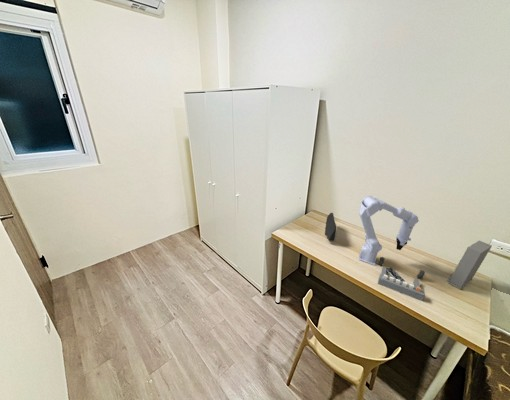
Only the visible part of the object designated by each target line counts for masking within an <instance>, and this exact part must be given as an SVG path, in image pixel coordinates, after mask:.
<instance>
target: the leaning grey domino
mask: <svg viewBox="0 0 510 400" xmlns="http://www.w3.org/2000/svg"><path fill="white" fill-rule="evenodd" d="M492 246H493V245H492V244H489V243H488V242H487V243H486V242H484V241H481V240H477V241H476V242H474V243H472V244H471V245H469V246H468V247H467V248H466V249H465V252H464V254H463V256H462V257H461V259H460V260H459V262H458V264H457V266H456V267H455V269H454V272H453V273H452V274H451V275H450V276H449V278H448V280H447V281H446V282H447V283H448V284H450V285H452V286H454V287H456V288H457V289H459V290H461V289H462V288H463V287H465V286H466V285H468V284H469V283H471V282H472V281H473V278H474V277H475V275H476V273H477V272H478V270H479V268H480V267H481V265H482V264H483V261H484V260H485V258H487V257H486V256H487V255H488V253H489V252H490V251H491V248H492Z"/></svg>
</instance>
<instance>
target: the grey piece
mask: <svg viewBox="0 0 510 400" xmlns="http://www.w3.org/2000/svg"><path fill="white" fill-rule="evenodd" d="M386 268H387V267H382V268H381V272H380V273H379V276H378V278H377V279H378V280H377V285H380V286H383V287H385V288H388V289H390V290H393V291H396V292H397V293H398V292H399V293H401V294H403V295H405V296H408V297H411V298H413V299H415V300H419V301H421V302H422V301H423V299H424V297H425V291H424V290H425V289H423V288H422V287H421V284H420V280H419V279H418V278H414V280H413V284H411V283H409V284H408V282H407V281H405V282H404V281H403V282H401V281H400V280H398V279H397V280H395V279H394V278H393V277H390V276H389V275H388V274H387V273H386Z"/></svg>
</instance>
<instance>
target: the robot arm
mask: <svg viewBox="0 0 510 400" xmlns="http://www.w3.org/2000/svg"><path fill="white" fill-rule="evenodd" d="M360 204H361V205H360V209H359V212H358V213H359V217H360V220H361V221H360V222H361V223H362V226H363V229H364V234H365V236H364V237H365V245H364V244H362V246H361V250H360V252H359V253H358V255H359V257H358V260H359V261H361V262H365V263H367V264H370V265H373V266H375V265H376V262H377V261H376V260H377V255H378V253H379V252H380V251H382V249H383V246H382V244H381V243H380V241H379V240H378V238H377V236H376V235H377V234H376V232H375V228H374V225H373V222H372V219H371V217H372V216H373V215H375V214H376V213H377V212H381V211H383V210H386V211H387V212H390V213H392V215H393V216H394V217H396V218H399V220H402V223H401V225H400V227H399V230H398V232H397V233H398V234H397V235H396V238H395V239H396V240H395V241H396V250H398V251H401V250H403V248H404V247H405V246H406V245H408V242H409V241H412V238H410V236H411V233H412V231H413V229H414V227H415V226H416V224H417V223H419V221H420V220H419V216H417V214H415V213H413V212H412V211H411V210H407V209H406V208H404V207H402V206H401V207H399V206H397V207H395V206H393V205H391V204H389V203H387V202H386V201H383V200H381V199H379V198H378V197H377V198H376V197H373V196H371V195H368V196H367V195H366V196H364V198H363V199H362V200H361V203H360Z"/></svg>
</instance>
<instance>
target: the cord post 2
mask: <svg viewBox="0 0 510 400" xmlns="http://www.w3.org/2000/svg"><path fill="white" fill-rule="evenodd" d="M425 273H426V272H425V271H424V270H423V269H422V270H421V269H420V270H419V272H418V274H417V277H416V279H417V280H419V281H422V280H423V278H424V276H425Z"/></svg>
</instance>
